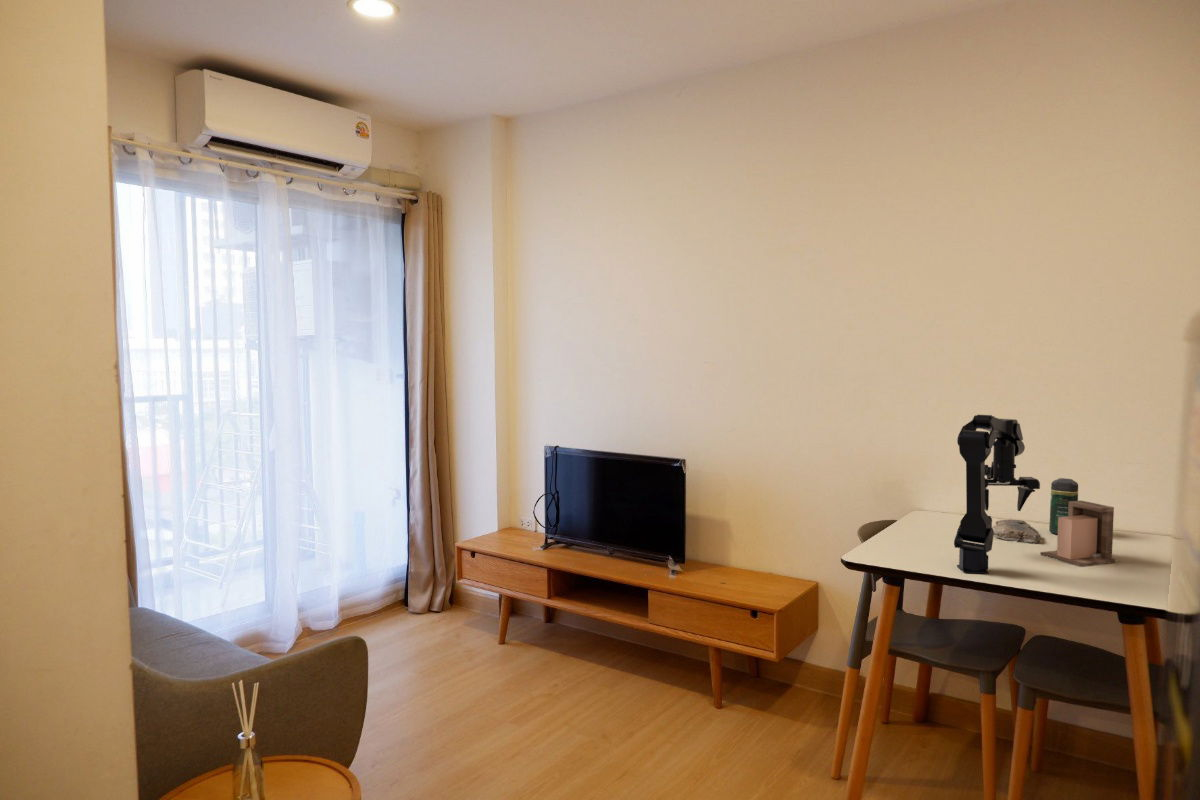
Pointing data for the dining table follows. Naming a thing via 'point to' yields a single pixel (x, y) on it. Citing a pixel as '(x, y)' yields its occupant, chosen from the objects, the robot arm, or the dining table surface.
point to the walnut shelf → (1103, 533)
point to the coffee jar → (1061, 500)
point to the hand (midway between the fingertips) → (1002, 510)
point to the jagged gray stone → (1015, 531)
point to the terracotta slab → (1077, 536)
